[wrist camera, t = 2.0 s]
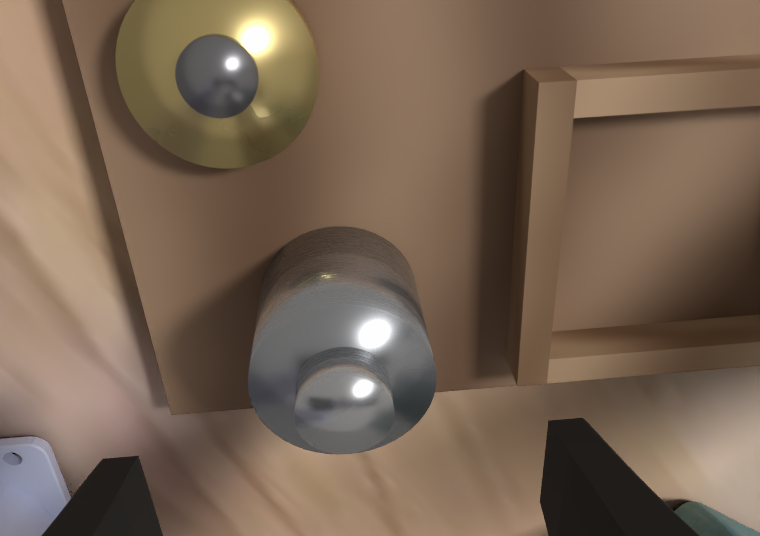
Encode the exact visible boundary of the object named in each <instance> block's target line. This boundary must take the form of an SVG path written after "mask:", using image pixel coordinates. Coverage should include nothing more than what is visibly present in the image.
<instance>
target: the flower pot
mask: <svg viewBox="0 0 760 536" xmlns="http://www.w3.org/2000/svg"><path fill="white" fill-rule="evenodd" d="M674 512H675V513H676V514H677V515H678V516H679V517H680V518H681V519H682V520H683V521H684V522H685V523H687V524H688V525H689V526H690V527H691V528H692V529H693V530H694V531H695V532H696V533H697V534H698V535H700V536H760V533H759V532H757V531H755V530H753V529H751V528H749V527H746V526H744V525H742V524H740V523H738V522H737V521H735V520H733V519H731V518H729V517H727V516H725V515H723V514H722V513H720V512H718V511H716V510H714V509H712V508H710V507H708V506H706V505H703V504H701V503H698V502H687V503H685V504H682V505H681V506H680V507H679V508H677V509H676V510H675V511H674Z"/></svg>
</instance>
